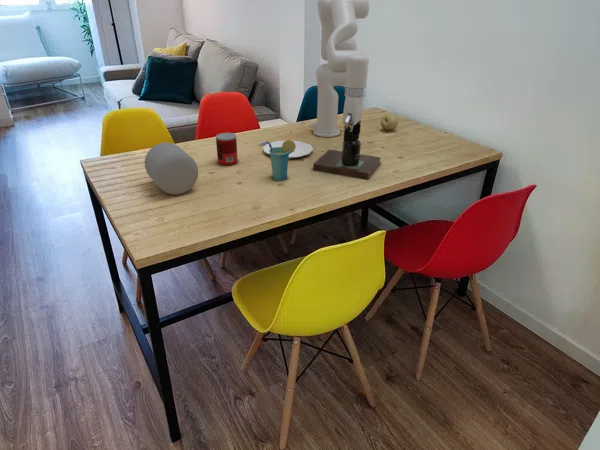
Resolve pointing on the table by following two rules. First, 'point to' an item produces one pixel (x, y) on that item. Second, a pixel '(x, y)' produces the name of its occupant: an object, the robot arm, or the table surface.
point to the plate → (299, 150)
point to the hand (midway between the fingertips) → (351, 137)
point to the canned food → (226, 149)
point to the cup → (280, 158)
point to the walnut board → (333, 164)
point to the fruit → (389, 122)
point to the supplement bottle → (351, 151)
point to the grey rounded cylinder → (171, 168)
